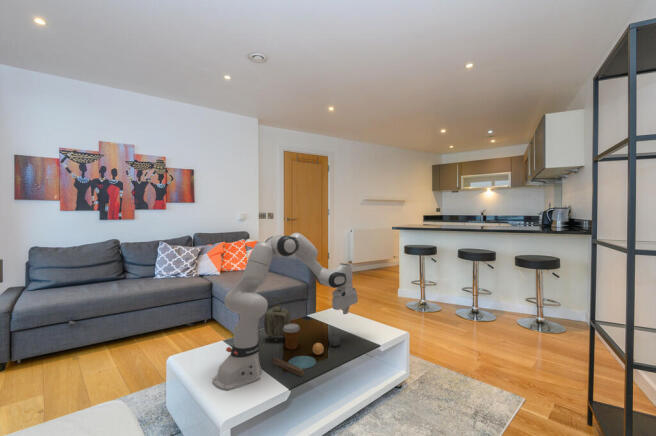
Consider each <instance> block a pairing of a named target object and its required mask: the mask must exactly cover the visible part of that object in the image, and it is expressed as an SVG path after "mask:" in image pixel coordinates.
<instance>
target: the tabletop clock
mask: <svg viewBox="0 0 656 436" xmlns="http://www.w3.org/2000/svg"><path fill="white" fill-rule="evenodd" d="M273 301H280V302H281V303H276V304H275V303H273ZM270 303H271V305H273V308H271V309H269V310H268V311H266V313H265V314H264V319H263V327H264V328H263V329H264V333H265V335H266V336H268V339H271V338H272V337H275V339H274V341H275V342H276V343H277V342H278V341H279V339H278V337H285V336H284V330H283V328H284V326H285V325H287V324H291V321H292V320H291V313H290V311H289V310H288V309H286V308H281V306H282V305H283V303H284V302H283V300H282V299H280V298H273V299H272V300H271V301H270Z"/></svg>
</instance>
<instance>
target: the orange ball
mask: <svg viewBox="0 0 656 436" xmlns="http://www.w3.org/2000/svg"><path fill="white" fill-rule="evenodd" d="M324 350H325V348H324V345H323V343H321V342H316V343H314V344H313V346H312V352H313V353H314V355H317V356H319V355H322V354H323V353H324Z"/></svg>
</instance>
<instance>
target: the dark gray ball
mask: <svg viewBox="0 0 656 436" xmlns="http://www.w3.org/2000/svg"><path fill="white" fill-rule="evenodd" d="M329 344H330V345H331V346H333V347H338V346H339V345H340V344H341V338H340V336H339V335H335V334H333V335H332V336H330V338H329Z"/></svg>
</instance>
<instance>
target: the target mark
mask: <svg viewBox="0 0 656 436" xmlns="http://www.w3.org/2000/svg"><path fill="white" fill-rule="evenodd" d="M287 363H290V364H292V365H294V366H296V367H298V368H301V369H303V370H304V369H309V368H313V366H314V365H316V363H317V360H316V359H315V358H314V357H312V356H309V355H299V356H293V357H292V358H290V359H289V360H288V362H287Z"/></svg>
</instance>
